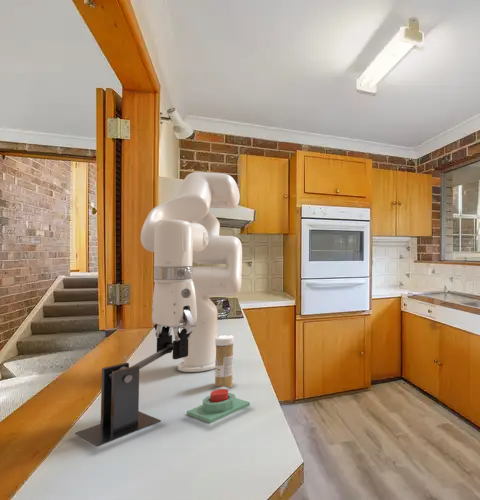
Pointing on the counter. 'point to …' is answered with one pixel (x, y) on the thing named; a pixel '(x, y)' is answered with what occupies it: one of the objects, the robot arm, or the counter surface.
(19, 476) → the counter surface
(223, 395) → the button
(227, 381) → the sprinkles bottle
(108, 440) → the lever bracket
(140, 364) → the lever handle
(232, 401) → the control block
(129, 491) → the counter surface
